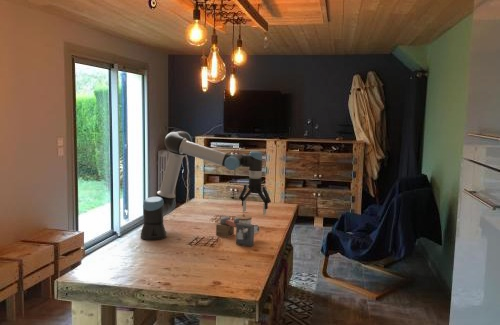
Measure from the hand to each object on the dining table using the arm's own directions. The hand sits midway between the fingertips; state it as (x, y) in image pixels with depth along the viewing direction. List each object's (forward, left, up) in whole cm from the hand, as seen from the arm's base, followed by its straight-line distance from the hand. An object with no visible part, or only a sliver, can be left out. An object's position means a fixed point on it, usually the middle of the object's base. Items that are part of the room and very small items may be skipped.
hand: (254, 212), depth 264 cm
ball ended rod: (-2, +15, -9) cm, 18 cm away
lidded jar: (+20, +18, -17) cm, 32 cm away
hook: (-7, 0, -12) cm, 14 cm away
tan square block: (0, +20, -17) cm, 26 cm away
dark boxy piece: (-11, 0, -17) cm, 20 cm away
